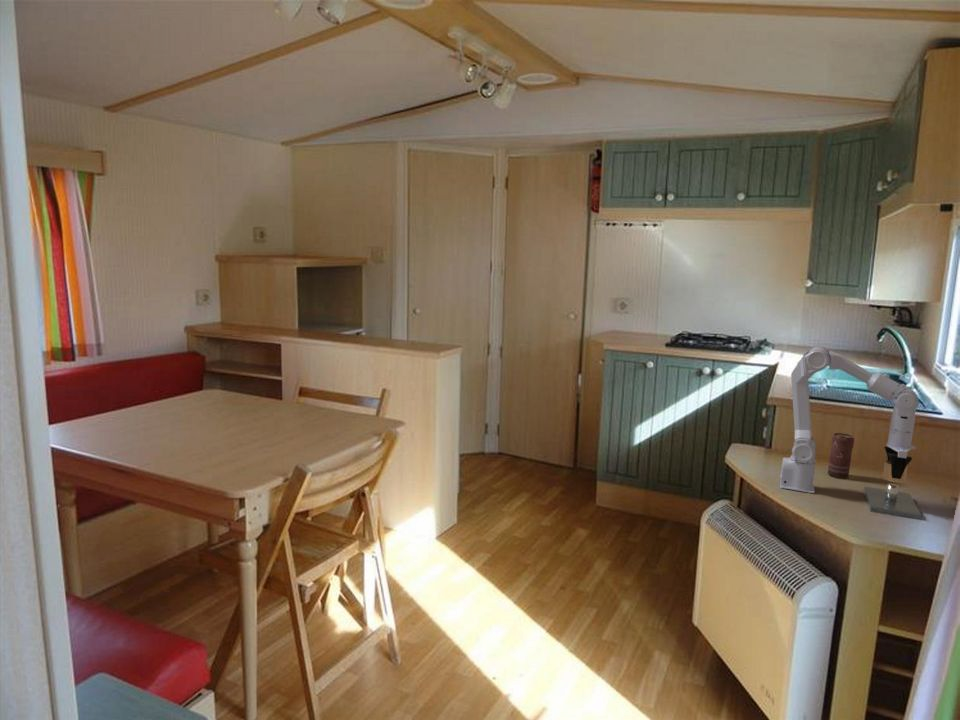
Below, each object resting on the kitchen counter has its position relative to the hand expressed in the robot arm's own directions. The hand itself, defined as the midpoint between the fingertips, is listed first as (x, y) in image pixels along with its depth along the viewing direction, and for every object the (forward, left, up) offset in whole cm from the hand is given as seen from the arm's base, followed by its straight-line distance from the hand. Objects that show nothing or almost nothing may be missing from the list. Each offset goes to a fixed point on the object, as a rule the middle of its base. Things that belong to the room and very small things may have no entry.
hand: (894, 475), depth 189 cm
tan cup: (0, 0, -1) cm, 1 cm away
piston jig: (0, 0, -9) cm, 9 cm away
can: (-12, +21, -9) cm, 26 cm away
